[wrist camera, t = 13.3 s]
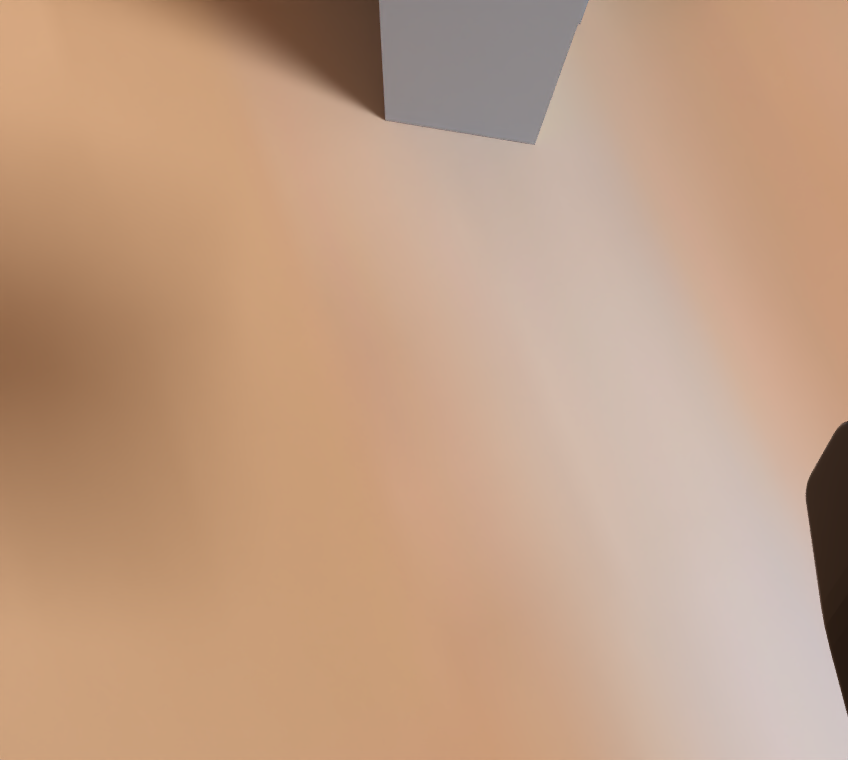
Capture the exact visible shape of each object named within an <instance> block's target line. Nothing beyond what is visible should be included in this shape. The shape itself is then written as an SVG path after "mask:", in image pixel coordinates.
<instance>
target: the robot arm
mask: <svg viewBox="0 0 848 760" xmlns="http://www.w3.org/2000/svg"><path fill="white" fill-rule="evenodd" d="M806 504H807V511H808V518H809V525H810V532H811V539H812V546H813V553H814V560H815V567H816V574H817V581H818V588H819V595H820V602H821V609H822V614H823V620H824V625H825V630H826V634H827V638H828V642H829V647H830V651H831V654H832V658H833V662H834V666H835V670H836V673H837V677H838V681H839V685H840V688H841V692H842V696H843V700H844V704H845V707H846V711H847V715H848V421H847V422H844V423H842V424H841V425H840V426H839V427H838V428H837V430H836V431H835V433H834V434H833V436H832V438H831V440H830V441H829V443H828V445H827V447H826V448H825V450H824V452H823V454H822V455H821V457H820V459H819V461H818V463H817V464H816V466H815V468H814V470H813V471H812V473H811V475H810V477H809V480H808V483H807V488H806Z"/></svg>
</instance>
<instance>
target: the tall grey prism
mask: <svg viewBox="0 0 848 760" xmlns="http://www.w3.org/2000/svg"><path fill="white" fill-rule="evenodd" d="M587 3H588V0H379V11H380V30H381V48H382V67H383V86H384V104H385V120H387V121H393V122H400V123H406V124H412V125H418V126H424V127H430V128H436V129H442V130H448V131H455V132H461V133H467V134H473V135H479V136H485V137H491V138H497V139H503V140H510V141H516V142H522V143H528V144H534V145H535V142H536V139H537V137H538V134H539V131H540V128H541V126H542V123H543V120H544V117H545V114H546V112H547V109H548V106H549V103H550V100H551V98H552V95H553V92H554V89H555V86H556V84H557V81H558V78H559V75H560V73H561V70H562V67H563V64H564V61H565V59H566V56H567V53H568V50H569V47H570V45H571V42H572V39H573V36H574V34H575V31H576V28H577V25H578V24H580V22H581V20H582V17H583V14H584V11H585V9H586V6H587Z"/></svg>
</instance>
